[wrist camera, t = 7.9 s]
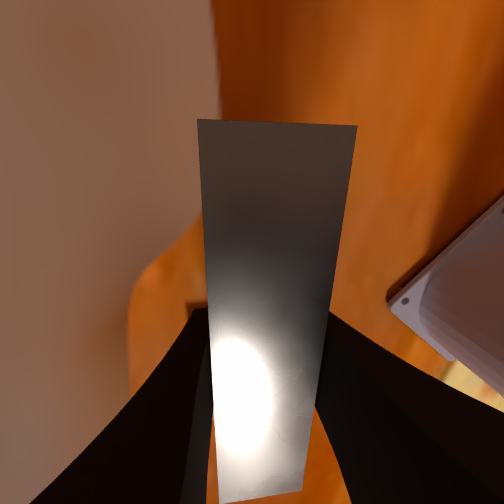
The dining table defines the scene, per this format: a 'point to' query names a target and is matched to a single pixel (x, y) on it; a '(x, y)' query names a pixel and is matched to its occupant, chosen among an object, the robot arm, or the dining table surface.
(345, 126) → the tall grey plank
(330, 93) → the dining table surface
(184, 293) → the dining table surface
